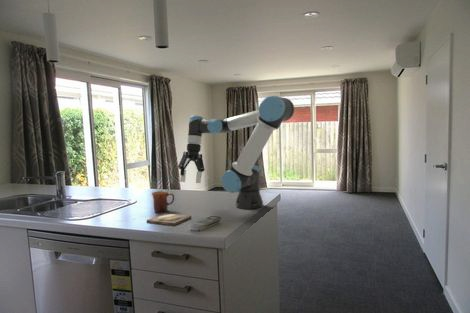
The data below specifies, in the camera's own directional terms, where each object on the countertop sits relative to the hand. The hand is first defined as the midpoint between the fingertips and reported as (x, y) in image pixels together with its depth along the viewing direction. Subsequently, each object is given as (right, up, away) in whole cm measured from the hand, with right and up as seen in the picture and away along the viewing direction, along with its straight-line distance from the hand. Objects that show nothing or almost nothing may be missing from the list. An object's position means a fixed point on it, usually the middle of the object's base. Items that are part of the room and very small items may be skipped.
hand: (190, 182), depth 181 cm
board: (-8, -17, -21) cm, 28 cm away
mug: (-14, -16, -1) cm, 21 cm away
